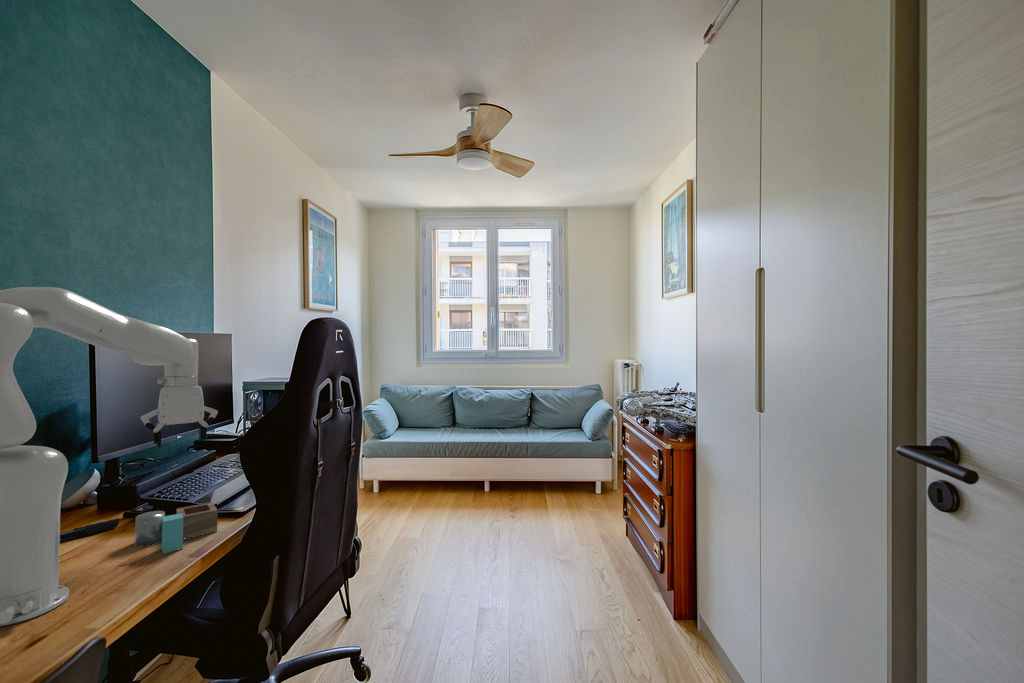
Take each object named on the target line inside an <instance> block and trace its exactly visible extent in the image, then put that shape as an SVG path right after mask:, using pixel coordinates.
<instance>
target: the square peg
mask: <svg viewBox="0 0 1024 683" xmlns="http://www.w3.org/2000/svg"><path fill="white" fill-rule="evenodd" d="M183 547H184V539H183V515H182V513H180V514H176V513H175V514H170V515H165V517H162V542H161V553H162V552H163V553H165V554H168V553H167V552H169V553H171V552H170V551H174V550H177V549H182V548H183ZM183 549H184V548H183ZM183 549H182V550H183ZM174 552H175V551H174ZM163 553H162V554H163Z"/></svg>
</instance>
